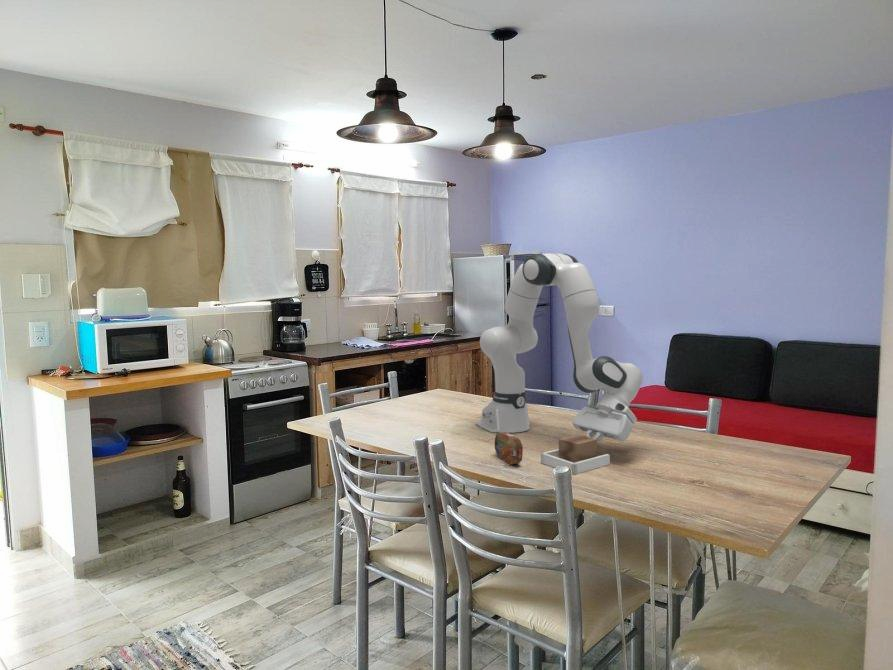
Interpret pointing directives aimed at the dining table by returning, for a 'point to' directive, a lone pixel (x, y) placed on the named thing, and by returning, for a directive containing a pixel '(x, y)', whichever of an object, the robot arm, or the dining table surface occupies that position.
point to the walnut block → (577, 448)
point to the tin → (508, 448)
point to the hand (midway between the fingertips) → (589, 444)
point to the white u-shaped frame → (553, 460)
